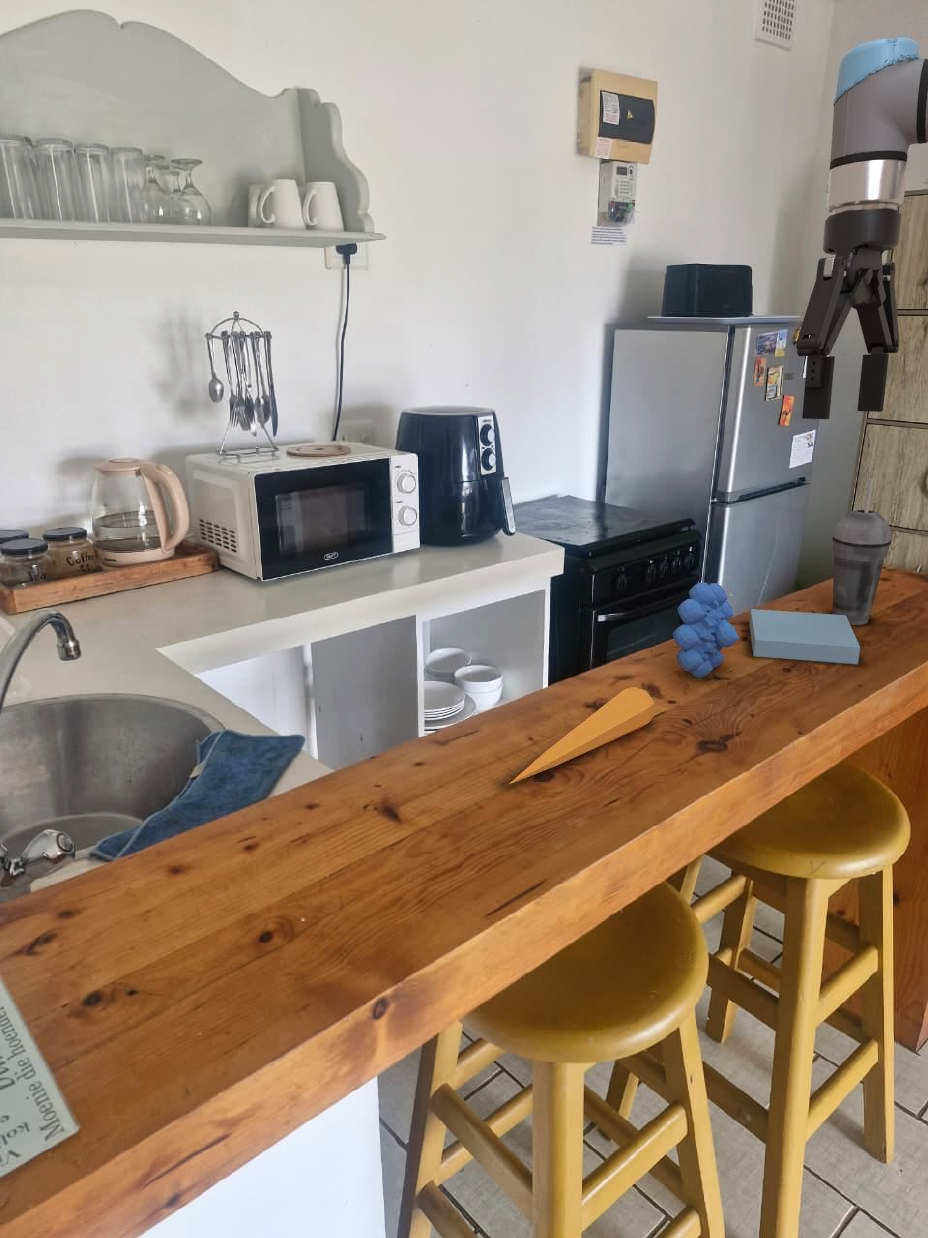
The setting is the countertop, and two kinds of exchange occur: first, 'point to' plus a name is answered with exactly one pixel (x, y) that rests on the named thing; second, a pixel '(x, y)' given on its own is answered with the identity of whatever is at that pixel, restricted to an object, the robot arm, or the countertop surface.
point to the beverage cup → (858, 561)
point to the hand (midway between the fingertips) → (843, 415)
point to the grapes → (704, 629)
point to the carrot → (598, 729)
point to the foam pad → (803, 636)
